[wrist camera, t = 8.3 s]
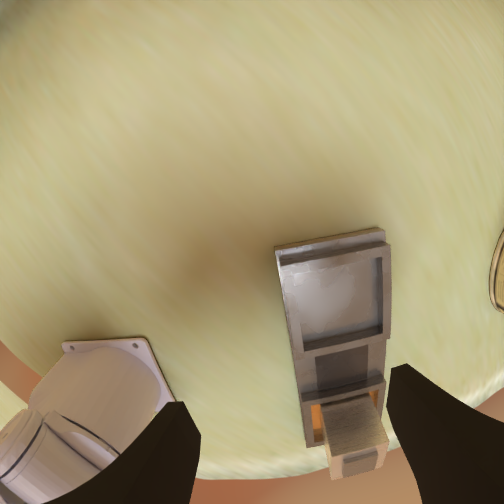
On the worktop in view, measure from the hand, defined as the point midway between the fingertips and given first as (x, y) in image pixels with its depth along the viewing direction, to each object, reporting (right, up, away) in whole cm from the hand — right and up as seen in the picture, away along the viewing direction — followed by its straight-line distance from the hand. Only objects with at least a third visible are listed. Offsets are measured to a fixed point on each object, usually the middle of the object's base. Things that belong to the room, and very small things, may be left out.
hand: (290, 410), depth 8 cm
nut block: (+6, -8, +12) cm, 15 cm away
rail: (+5, -3, +12) cm, 13 cm away
